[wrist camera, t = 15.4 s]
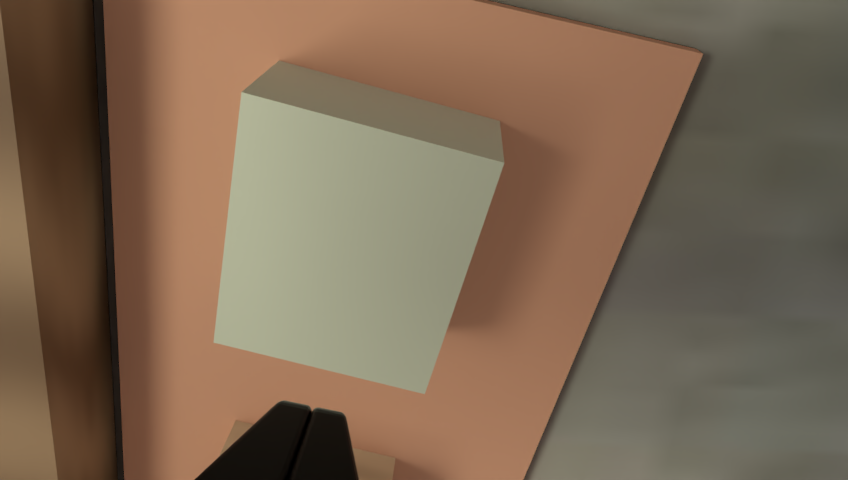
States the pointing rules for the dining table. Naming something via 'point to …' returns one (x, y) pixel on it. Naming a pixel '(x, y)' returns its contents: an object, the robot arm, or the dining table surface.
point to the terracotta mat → (494, 253)
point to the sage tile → (351, 224)
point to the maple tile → (370, 466)
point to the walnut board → (52, 249)
